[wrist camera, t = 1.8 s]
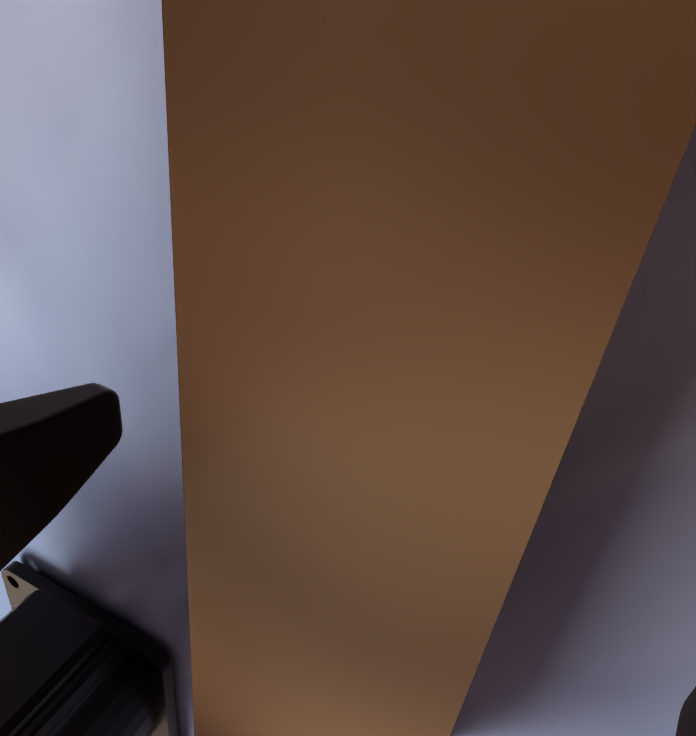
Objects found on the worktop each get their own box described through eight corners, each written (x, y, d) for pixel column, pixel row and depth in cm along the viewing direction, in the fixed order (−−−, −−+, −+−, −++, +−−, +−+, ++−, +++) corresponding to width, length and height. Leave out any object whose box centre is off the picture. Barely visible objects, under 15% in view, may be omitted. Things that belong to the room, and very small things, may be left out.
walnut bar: (447, 727, 15) (375, 922, 12) (298, 644, 16) (197, 800, 13) (801, -172, 6) (888, -352, 3) (396, -197, 7) (147, -340, 4)
